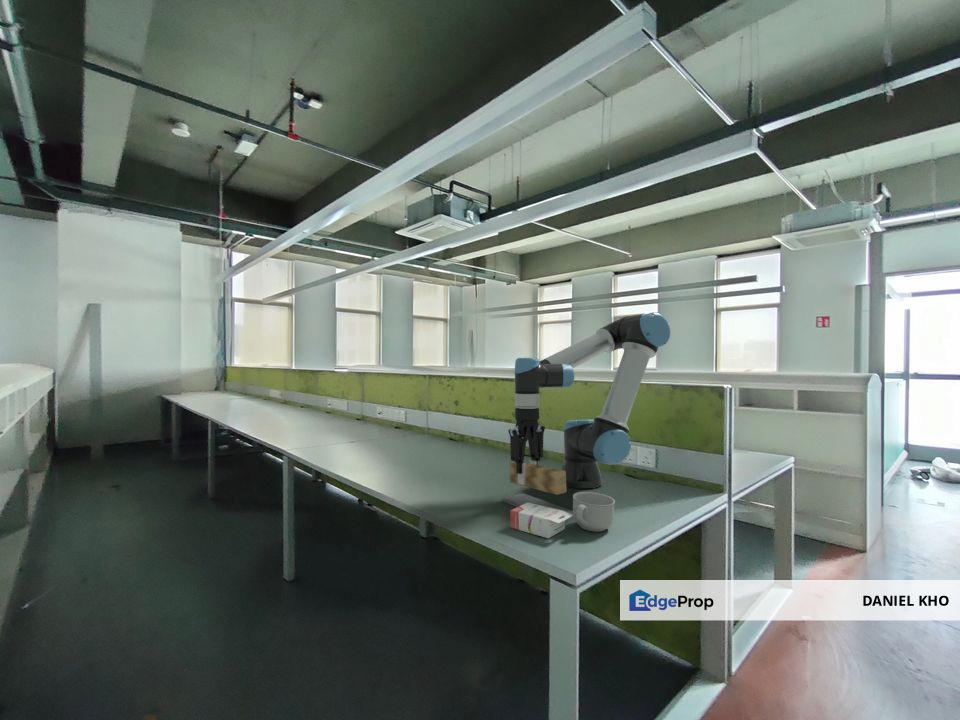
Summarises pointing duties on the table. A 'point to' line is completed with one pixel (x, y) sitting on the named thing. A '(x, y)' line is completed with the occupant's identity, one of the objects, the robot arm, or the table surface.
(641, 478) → the table surface
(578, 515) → the teacup
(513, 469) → the oak stick
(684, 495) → the table surface
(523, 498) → the tool mat
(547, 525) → the ink cartridge box
